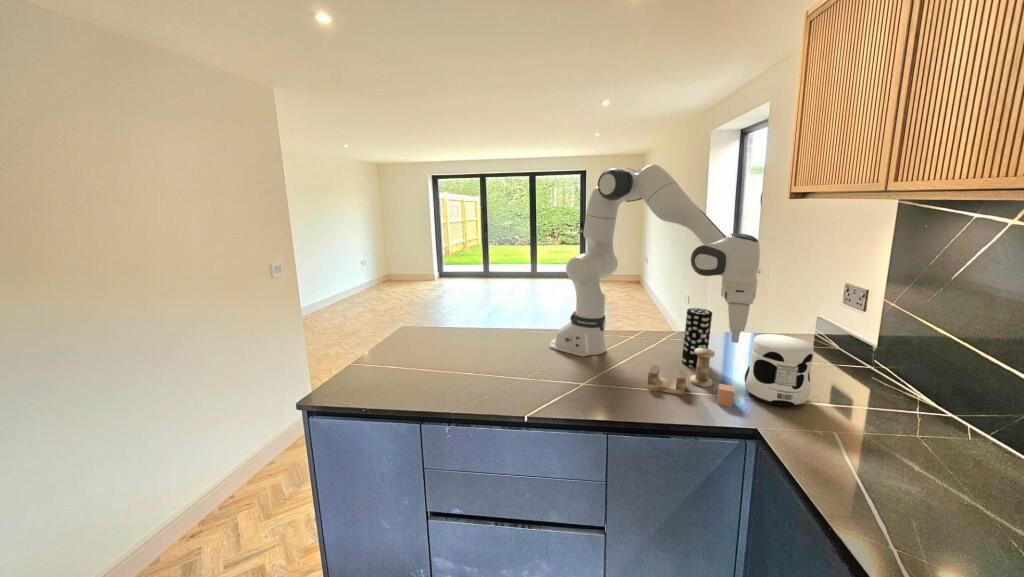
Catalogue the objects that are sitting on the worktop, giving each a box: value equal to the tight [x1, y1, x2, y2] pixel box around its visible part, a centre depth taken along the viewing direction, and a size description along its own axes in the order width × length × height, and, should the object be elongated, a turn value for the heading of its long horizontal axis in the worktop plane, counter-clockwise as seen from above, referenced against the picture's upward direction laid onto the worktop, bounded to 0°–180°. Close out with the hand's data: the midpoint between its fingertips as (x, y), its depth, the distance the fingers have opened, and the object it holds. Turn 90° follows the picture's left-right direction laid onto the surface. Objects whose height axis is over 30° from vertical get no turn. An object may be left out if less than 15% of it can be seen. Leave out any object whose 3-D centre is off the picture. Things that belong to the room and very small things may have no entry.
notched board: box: [646, 364, 688, 396], centre depth 138 cm, size 11×7×6 cm, turn 65°
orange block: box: [716, 383, 735, 408], centre depth 128 cm, size 4×4×5 cm
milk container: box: [744, 333, 815, 407], centre depth 130 cm, size 17×17×18 cm
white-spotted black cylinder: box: [681, 307, 713, 369], centre depth 155 cm, size 8×8×20 cm
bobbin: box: [689, 348, 715, 388], centre depth 141 cm, size 7×7×11 cm
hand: (734, 336), depth 125 cm, fingers open, 8 cm apart
